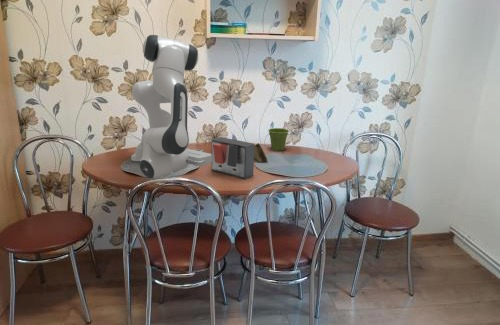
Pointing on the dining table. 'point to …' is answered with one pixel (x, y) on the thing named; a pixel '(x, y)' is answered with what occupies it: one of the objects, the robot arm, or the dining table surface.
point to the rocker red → (218, 153)
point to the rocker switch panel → (243, 158)
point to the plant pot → (278, 138)
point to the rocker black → (232, 155)
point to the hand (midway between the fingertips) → (201, 151)
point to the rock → (259, 154)
